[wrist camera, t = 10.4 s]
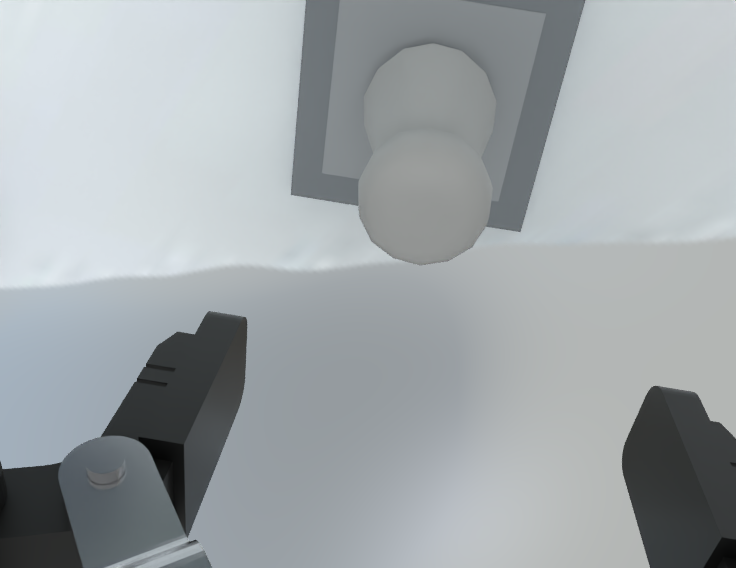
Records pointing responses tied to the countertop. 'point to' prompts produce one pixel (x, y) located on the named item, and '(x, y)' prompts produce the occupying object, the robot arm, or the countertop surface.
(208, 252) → the countertop surface
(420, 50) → the grey rounded lobed piece
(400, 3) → the coaster
